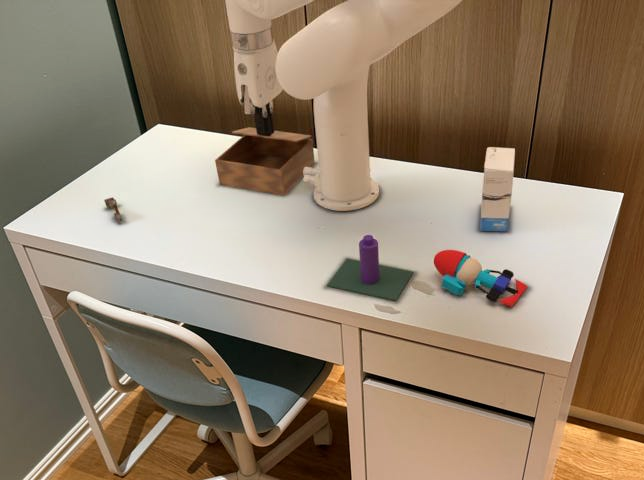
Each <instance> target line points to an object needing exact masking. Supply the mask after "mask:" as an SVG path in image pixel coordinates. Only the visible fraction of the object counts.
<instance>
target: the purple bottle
mask: <svg viewBox="0 0 644 480" xmlns="http://www.w3.org/2000/svg"><path fill="white" fill-rule="evenodd" d="M358 248H359V253H358V254H359V261H360V269H361V281H362V282H363V283H365V284H369V285H371V284H375V283H377V282H378V281H379V279H380V277H379V265H380V256H379V254H380V253H379V240H378V239H377V238H374V236H373V235H372V234H365V235H363V236H362V239H360V241H359V242H358Z"/></svg>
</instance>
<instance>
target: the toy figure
mask: <svg viewBox="0 0 644 480" xmlns="http://www.w3.org/2000/svg"><path fill="white" fill-rule="evenodd" d="M433 265H434V268H435V269H436V270H437V272H438V273H439V274H440V275H441V276H442V277H443V278H442V282H441V288H443V289H445V290H447V291H449V292H450V293H452V294H454V295H455V296H460V297H462V296H463V293H464V292H465V291H466V286H471V285H473V284H474V289H477V290H478V291H480V292H482V293H483V294H486V295H485V298H486V299H487V300H488V301H491V302H492V303H496V302H499V303H501V304H503V305H505V306H508V307H513V306H514V305H515V304H516V303H517V302H518V301H519V298H520V296H521V295H523V293H524V292H525V291H526V290H527V288H528V286H527V285H526V283H524V282H522V281H520V280H519V279H516V278H514V281H515V288H516V289H515V288H513V287H510V282H511V281H512V278H513V277H514V272H513V271H512V270H509V269H507V268H505V269H503V270H502V271H500V270H495V269H488V268H487V269H484V270H483V268H482V265H481V262H480V261H479V260H477V259H476V258H474V257H471V255H470V254H467V253H466V252H464V251H461V250H457V249H443V250H440V251H438V252H437V253H436V254H435V255H434V257H433ZM491 273H493V274H499V275H498V276H495V275H493V274H491ZM481 286H482V287H485V288H487V289H488V290H489V291H487V290H486V289H484V288H482V287H481ZM505 292H506V293H507V292H508V293H510V294H512V295H510V296H507V297H504V298H502V299H500V297H501V296H502V295H504V293H505Z"/></svg>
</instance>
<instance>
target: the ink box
mask: <svg viewBox="0 0 644 480" xmlns="http://www.w3.org/2000/svg"><path fill="white" fill-rule="evenodd" d="M515 149H516V148H513V147H497V146H488V147H487V148H486V152H485V161H484V165H483V168H484V169H483V170H484V171H483V179H482V189H481V191H482V192H481V203H480V204H481V205H480V222H479V223H480V225H479V231H482V232H508V229H509V220H510V212H511V211H510V210H511V205H512V204H511V203H512V194H513V183H514V173H515V172H514V171H515V156H516V150H515Z"/></svg>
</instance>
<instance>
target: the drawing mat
mask: <svg viewBox="0 0 644 480" xmlns="http://www.w3.org/2000/svg"><path fill="white" fill-rule="evenodd" d="M413 275H414V271H412V270H408V269H402V268H398V267H392V266H388V265H384V264H383V265H382V264H379V277H380V279H379V281H378V282H377V283H375V284H371V285H369V284H365V283H363V282H362V281H361V269H360V260H357V259H352V258H345V260H344V262H343V263H342V264H341V265H340V267H339V268H338V269H337V271H336V272H335V274H334V275H333V276H332V277H331V278H330V280H329V281H328V283H327V284H326V287H328V288H332V289H338V290H342V291H346V292H352V293H355V294H356V293H357V294H361V295H366V296H369V297H370V296H371V297H375V298H378V299H384V300H388V301H393V302H397V301H398V299H399V297H400V296H401V294H402V293H403V291H404V289H405V288H406V286H407V285H408V283H409V281H410V279H411V278H412V276H413Z"/></svg>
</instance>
